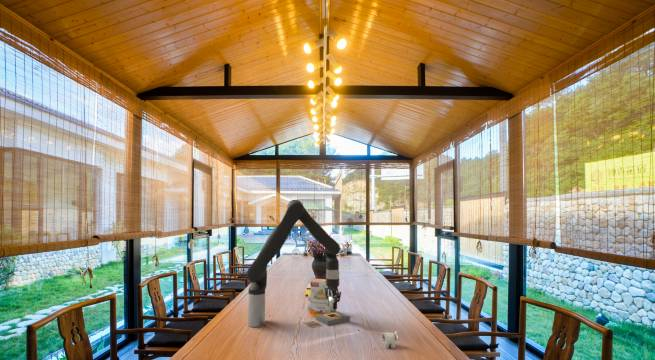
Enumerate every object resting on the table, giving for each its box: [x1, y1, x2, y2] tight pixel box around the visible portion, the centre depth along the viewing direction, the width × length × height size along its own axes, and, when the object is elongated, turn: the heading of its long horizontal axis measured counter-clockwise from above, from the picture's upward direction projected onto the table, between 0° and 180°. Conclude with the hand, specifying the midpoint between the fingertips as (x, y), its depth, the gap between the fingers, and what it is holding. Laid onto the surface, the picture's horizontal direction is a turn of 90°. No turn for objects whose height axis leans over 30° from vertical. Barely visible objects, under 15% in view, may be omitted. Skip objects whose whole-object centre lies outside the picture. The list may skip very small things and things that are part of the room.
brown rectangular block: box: [302, 320, 324, 329], centre depth 202 cm, size 10×7×2 cm
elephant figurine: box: [381, 330, 399, 349], centre depth 175 cm, size 8×10×7 cm
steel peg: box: [329, 296, 337, 312], centre depth 210 cm, size 4×4×8 cm
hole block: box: [315, 310, 351, 326], centre depth 209 cm, size 12×15×4 cm
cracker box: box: [309, 278, 331, 314], centre depth 226 cm, size 14×6×21 cm, turn 73°
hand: (332, 308), depth 210 cm, fingers closed on steel peg, 4 cm apart
